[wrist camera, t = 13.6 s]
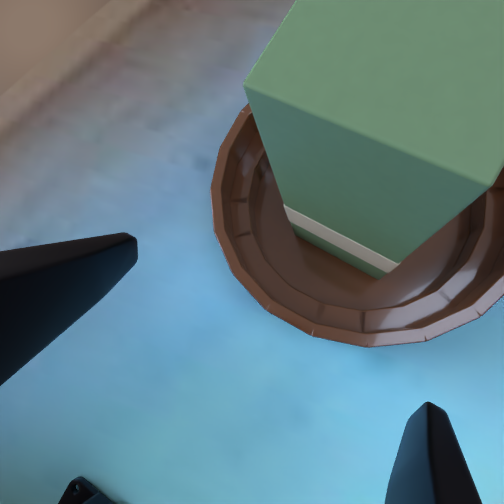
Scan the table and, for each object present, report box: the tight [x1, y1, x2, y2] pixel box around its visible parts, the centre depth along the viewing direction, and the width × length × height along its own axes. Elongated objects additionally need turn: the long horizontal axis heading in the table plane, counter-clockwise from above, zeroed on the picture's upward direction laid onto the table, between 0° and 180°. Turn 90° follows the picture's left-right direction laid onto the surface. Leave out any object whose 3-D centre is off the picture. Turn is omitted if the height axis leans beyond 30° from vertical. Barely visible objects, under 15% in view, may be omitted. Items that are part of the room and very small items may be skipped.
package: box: [243, 0, 504, 280], centre depth 13 cm, size 6×6×13 cm
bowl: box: [210, 103, 504, 348], centre depth 18 cm, size 15×15×4 cm
